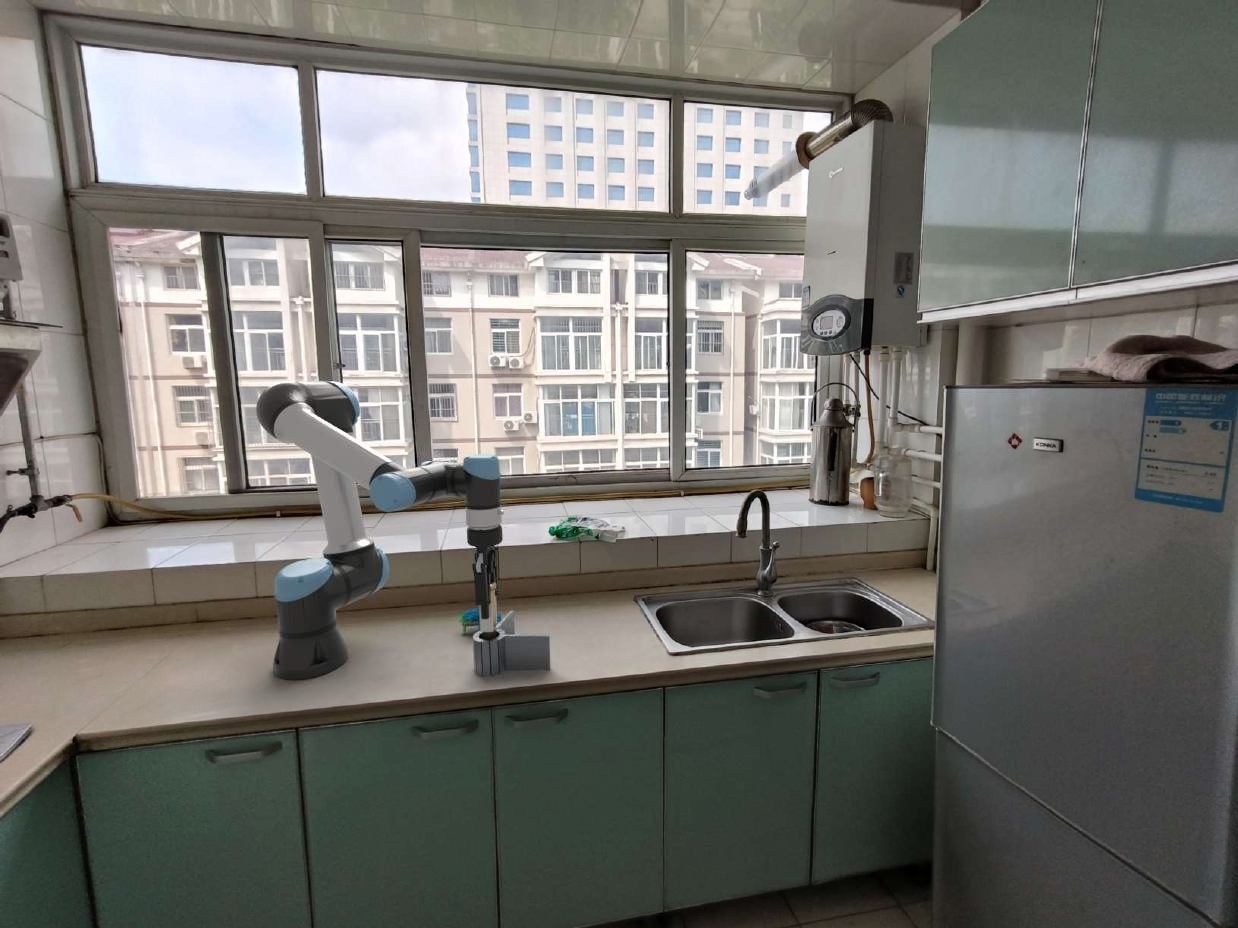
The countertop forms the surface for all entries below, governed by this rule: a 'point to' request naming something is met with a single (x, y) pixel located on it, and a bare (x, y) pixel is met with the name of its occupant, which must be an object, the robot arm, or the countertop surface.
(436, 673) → the countertop surface
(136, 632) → the countertop surface
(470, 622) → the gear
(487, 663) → the hinge leaf fixed
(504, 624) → the hinge leaf swing
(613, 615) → the countertop surface
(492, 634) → the pin
